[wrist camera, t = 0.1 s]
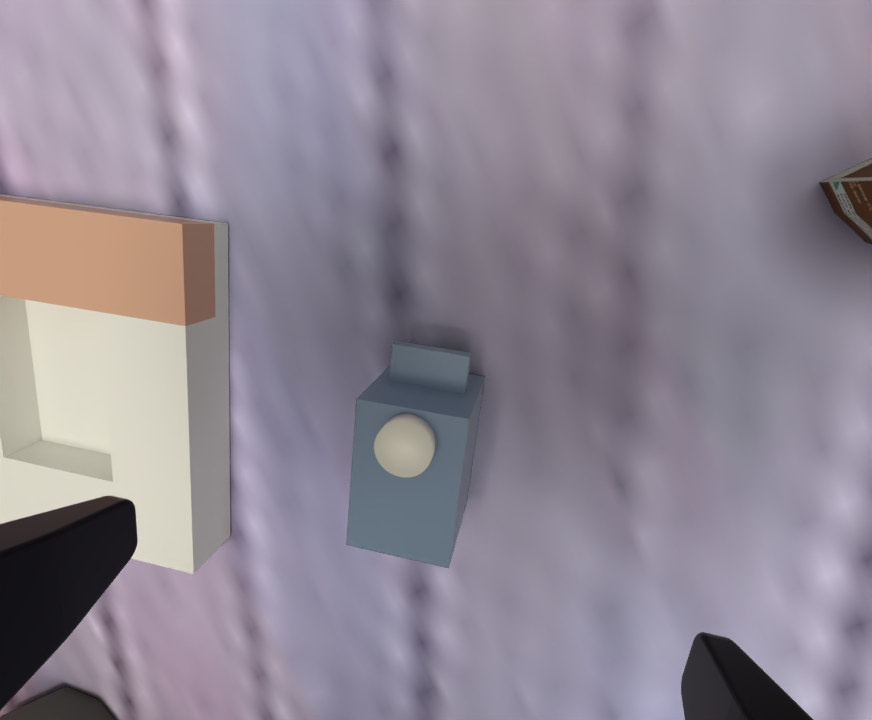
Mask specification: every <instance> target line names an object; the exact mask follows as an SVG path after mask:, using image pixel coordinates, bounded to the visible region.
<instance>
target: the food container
mask: <svg viewBox="0 0 872 720" xmlns="http://www.w3.org/2000/svg"><path fill="white" fill-rule="evenodd" d="M820 184H821V186H822V188H823V190H824V192H825V194H826V196H827V198H828V200H829V202H830V204H831V206H832V208H833V210H834V212H835V213H836V214H837V215H838V216H839V217H840V218H841V219H842V220H843V221H844V222H846V223H847V224H848V225H849V226H850V227H851V228H852V229H853V230H854V231H855V232H856V233H857V234H858V235H859V236H860V237H861V238H862V239H863V240H864V241H865V242H867V243H870V244H872V158H871V159H868V160H866V161H864V162H862V163H860V164H858V165H856V166H853V167H851V168H849V169H847V170H845V171H843V172H841V173H838V174H836V175H834V176H832V177H830V178H828V179H826V180H823V181H821V182H820Z"/></svg>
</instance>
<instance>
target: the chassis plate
mask: <svg viewBox="0 0 872 720" xmlns="http://www.w3.org/2000/svg"><path fill="white" fill-rule="evenodd" d="M103 496H116V497H120V498H125V499H129V500H130V501H132V502H133V503H134V505H135V509H136V523H137V538H138V543H137V547H136V550H135V552H134V554H133V556H132V557H131V558H132V559H136V560H140V561H144V562H148V563H152V564H156V565H159V566H163V567H167V568H171V569H175V570H179V571H183V572H187V573H191V574H194V573H195V572H196V571H197V570H198V569H199V568H200V567H201V566H202V565H203V564H204V563H205V562H206V561H207V560H208V559H209V558H210V557H211V556H212V555H213V554H214V553H215V552H216V551H217V550H218V549H219V548H220V547H221V546H222V545H223V544H224V543H225V542H226V541H227V540H228V539H229V538H230V414H229V288H228V223H222V222H214V221H206V220H198V219H191V218H183V217H175V216H167V215H159V214H152V213H144V212H136V211H128V210H120V209H113V208H105V207H97V206H89V205H81V204H73V203H66V202H58V201H50V200H42V199H34V198H27V197H19V196H11V195H3V194H0V524H2V523H6V522H9V521H13V520H17V519H21V518H24V517H28V516H32V515H36V514H39V513H43V512H47V511H51V510H54V509H58V508H62V507H66V506H69V505H73V504H77V503H81V502H84V501H88V500H92V499H96V498H99V497H103Z"/></svg>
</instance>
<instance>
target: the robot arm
mask: <svg viewBox="0 0 872 720" xmlns="http://www.w3.org/2000/svg"><path fill="white" fill-rule="evenodd" d="M137 543H138V538H137V523H136V509H135V505H134V503H133V502H132V501H130V500H129V499H125V498H120V497H116V496H103V497H99V498H96V499H92V500H88V501H84V502H81V503H77V504H73V505H69V506H66V507H62V508H58V509H54V510H51V511H47V512H43V513H39V514H36V515H32V516H28V517H24V518H21V519H17V520H13V521H9V522H6V523H2V524H0V710H1V709H2V708H3V707H4V706H5V705H6V704H7V703H8V702H9V701H10V699H11V698H12V697H13V696H14V695H15V694H16V693H17V692H18V691H19V690H20V689H21V688H22V687H23V686H24V684H25V683H26V682H27V681H28V680H29V679H30V678H31V677H32V676H33V675H34V674H35V673H36V672H37V671H38V669H39V668H40V667H41V666H42V665H43V664H44V663H45V662H46V661H47V660H48V659H49V658H50V657H51V656H52V654H53V653H54V652H55V651H56V650H57V649H58V648H59V647H60V646H61V644H62V643H63V642H64V641H65V640H66V639H67V638H68V636H69V635H70V634H71V633H72V632H73V630H74V629H75V628H76V627H77V626H78V624H79V623H80V622H81V621H82V619H83V618H84V617H85V616H86V614H87V613H88V612H89V610H90V609H91V608H92V607H93V605H94V604H95V603H96V602H97V600H98V599H99V598H100V597H101V595H102V594H103V593H104V592H105V590H106V589H107V588H108V587H109V585H110V584H111V583H112V582H113V580H114V579H115V578H116V576H117V575H118V574H119V573H120V571H121V570H122V569H123V568H124V566H125V565H126V564H127V563H128V561H129V560H130V559H131V557H132V556H133V554H134V552H135V550H136V547H137ZM681 694H682V701H683V708H684V715H685V720H813V719H812V718H811V717H810V716H809V715H808V714H807V713H806V712H805V711H804V710H803V709H802V708H801V707H800V706H799V705H798V704H797V703H796V702H795V701H794V700H793V699H792V698H791V697H790V696H789V695H788V694H787V693H786V692H785V691H784V690H783V689H782V688H781V687H780V686H779V685H777V684H776V683H775V682H774V681H773V680H772V679H771V678H770V677H769V676H768V675H767V674H766V673H765V672H764V671H763V670H762V669H761V668H760V667H759V666H758V665H757V664H756V663H755V662H754V661H753V660H752V659H751V658H750V657H749V656H748V655H747V654H746V653H745V652H744V651H743V650H742V649H741V648H740V647H739V646H738V645H737V644H736V643H734V642H733V641H732V640H731V639H729V638H726V637H722V636H718V635H713V634H709V633H705V632H701V633H699V634H697V635H696V637H695V639H694V641H693V644H692V647H691V650H690V654H689V657H688V660H687V663H686V666H685V669H684V673H683V676H682V682H681Z"/></svg>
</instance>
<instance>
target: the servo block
mask: <svg viewBox="0 0 872 720" xmlns="http://www.w3.org/2000/svg"><path fill="white" fill-rule="evenodd" d="M471 355H472V353H470V352H464V351H457V350H451V349H445V348H439V347H432V346H426V345H420V344H413V343H407V342H401V341H396V342H394V343H393V344H392V352H391V364H390V367H389V368H388V369H387V370H386V371H385V372H384V373H383V374H382V375H381V376H379V377H378V378H377V379H376V380H375V381H374V382H373V383H372V384H371V385H370V386H369V387H368V388H367V389H366V390H365V391H364V392H363V393H362V394H361V395H360V396H359V397H358V398H357V399H356V412H355V426H354V441H353V455H352V470H351V485H350V499H349V514H348V528H347V543H346V545H349V546H354V547H358V548H362V549H367V550H371V551H376V552H380V553H384V554H389V555H393V556H397V557H402V558H406V559H410V560H415V561H419V562H423V563H428V564H432V565H436V566H441V567H445V568H449V565H450V562H451V558H452V554H453V551H454V547H455V543H456V539H457V536H458V532H459V528H460V525H461V521H462V517H463V513H464V510H465V506H466V502H467V498H468V491H469V484H470V477H471V471H472V464H473V457H474V450H475V443H476V436H477V429H478V422H479V415H480V408H481V401H482V394H483V387H484V380H485V376H480V375H474V374H469V370H470V363H471Z"/></svg>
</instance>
